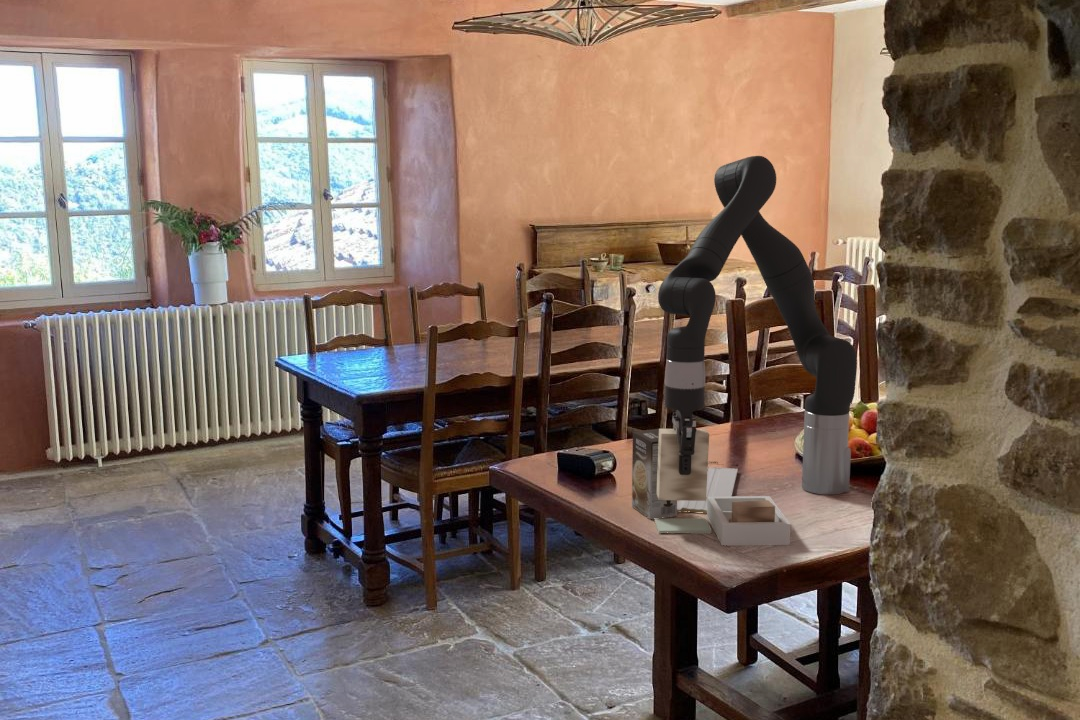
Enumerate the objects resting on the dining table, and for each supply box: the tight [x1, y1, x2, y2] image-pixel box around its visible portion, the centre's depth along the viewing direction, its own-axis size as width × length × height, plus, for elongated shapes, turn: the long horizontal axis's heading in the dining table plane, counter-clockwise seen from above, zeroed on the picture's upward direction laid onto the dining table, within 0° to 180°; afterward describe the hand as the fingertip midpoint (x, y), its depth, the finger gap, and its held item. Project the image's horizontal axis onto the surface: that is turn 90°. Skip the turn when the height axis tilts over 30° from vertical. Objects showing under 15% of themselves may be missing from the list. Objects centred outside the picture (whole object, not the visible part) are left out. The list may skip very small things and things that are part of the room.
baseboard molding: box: [677, 461, 739, 513], centre depth 224 cm, size 31×3×12 cm
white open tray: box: [706, 495, 791, 547], centre depth 199 cm, size 12×17×4 cm
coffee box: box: [631, 428, 678, 520], centre depth 209 cm, size 9×6×16 cm
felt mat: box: [654, 517, 713, 534], centre depth 201 cm, size 10×7×1 cm
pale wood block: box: [656, 428, 710, 501], centre depth 198 cm, size 9×4×13 cm, turn 90°
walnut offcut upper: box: [732, 500, 775, 523], centre depth 193 cm, size 7×4×4 cm, turn 97°
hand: (683, 470), depth 199 cm, fingers closed on pale wood block, 4 cm apart
